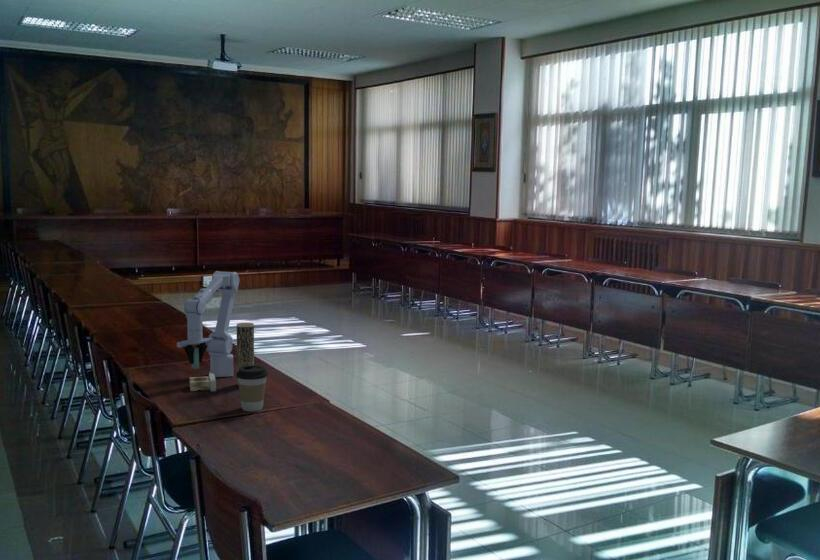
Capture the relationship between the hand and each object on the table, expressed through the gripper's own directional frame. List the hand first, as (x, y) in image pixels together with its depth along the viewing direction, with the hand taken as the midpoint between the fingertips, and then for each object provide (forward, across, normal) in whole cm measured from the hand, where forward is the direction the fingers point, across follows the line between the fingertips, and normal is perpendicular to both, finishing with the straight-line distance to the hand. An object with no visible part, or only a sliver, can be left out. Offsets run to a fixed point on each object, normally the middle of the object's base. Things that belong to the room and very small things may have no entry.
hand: (195, 362), depth 296 cm
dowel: (+2, 0, 0) cm, 2 cm away
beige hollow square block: (+10, 0, +4) cm, 10 cm away
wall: (+10, -4, +6) cm, 12 cm away
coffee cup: (+10, -2, +40) cm, 41 cm away
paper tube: (+10, -16, +11) cm, 22 cm away
